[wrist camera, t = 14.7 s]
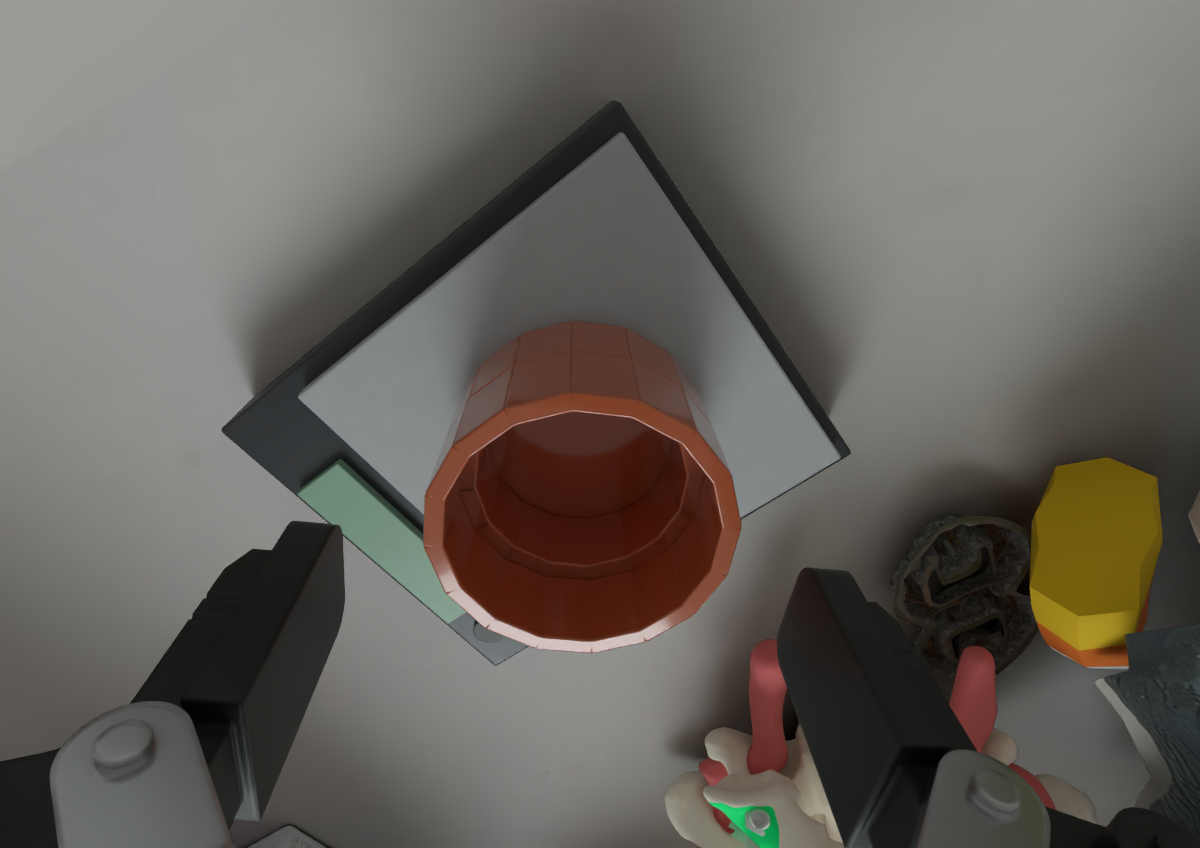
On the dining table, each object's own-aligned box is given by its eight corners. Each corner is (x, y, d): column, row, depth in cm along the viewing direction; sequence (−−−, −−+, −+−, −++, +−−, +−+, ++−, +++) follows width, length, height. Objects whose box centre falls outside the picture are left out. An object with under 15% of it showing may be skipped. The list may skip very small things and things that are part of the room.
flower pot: (407, 411, 17) (355, 515, 13) (605, 262, 15) (617, 326, 11) (561, 565, 19) (557, 693, 15) (746, 449, 18) (796, 558, 14)
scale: (251, 399, 19) (207, 442, 17) (614, 98, 16) (620, 101, 14) (501, 623, 23) (493, 681, 21) (828, 421, 20) (861, 465, 18)
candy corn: (1009, 600, 18) (1029, 713, 23) (1151, 633, 16) (1139, 748, 21) (1049, 432, 21) (1059, 565, 26) (1174, 442, 19) (1159, 584, 24)
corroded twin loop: (909, 685, 25) (925, 708, 24) (861, 539, 21) (879, 560, 21) (1034, 630, 25) (1055, 651, 24) (1008, 472, 21) (1032, 490, 20)
